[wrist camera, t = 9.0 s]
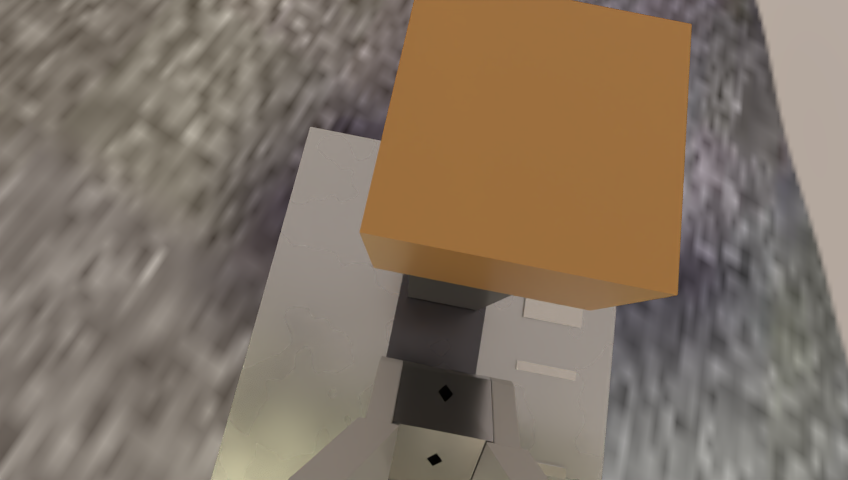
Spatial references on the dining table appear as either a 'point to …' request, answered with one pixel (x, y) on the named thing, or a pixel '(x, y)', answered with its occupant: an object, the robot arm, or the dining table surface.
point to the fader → (533, 155)
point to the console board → (396, 339)
